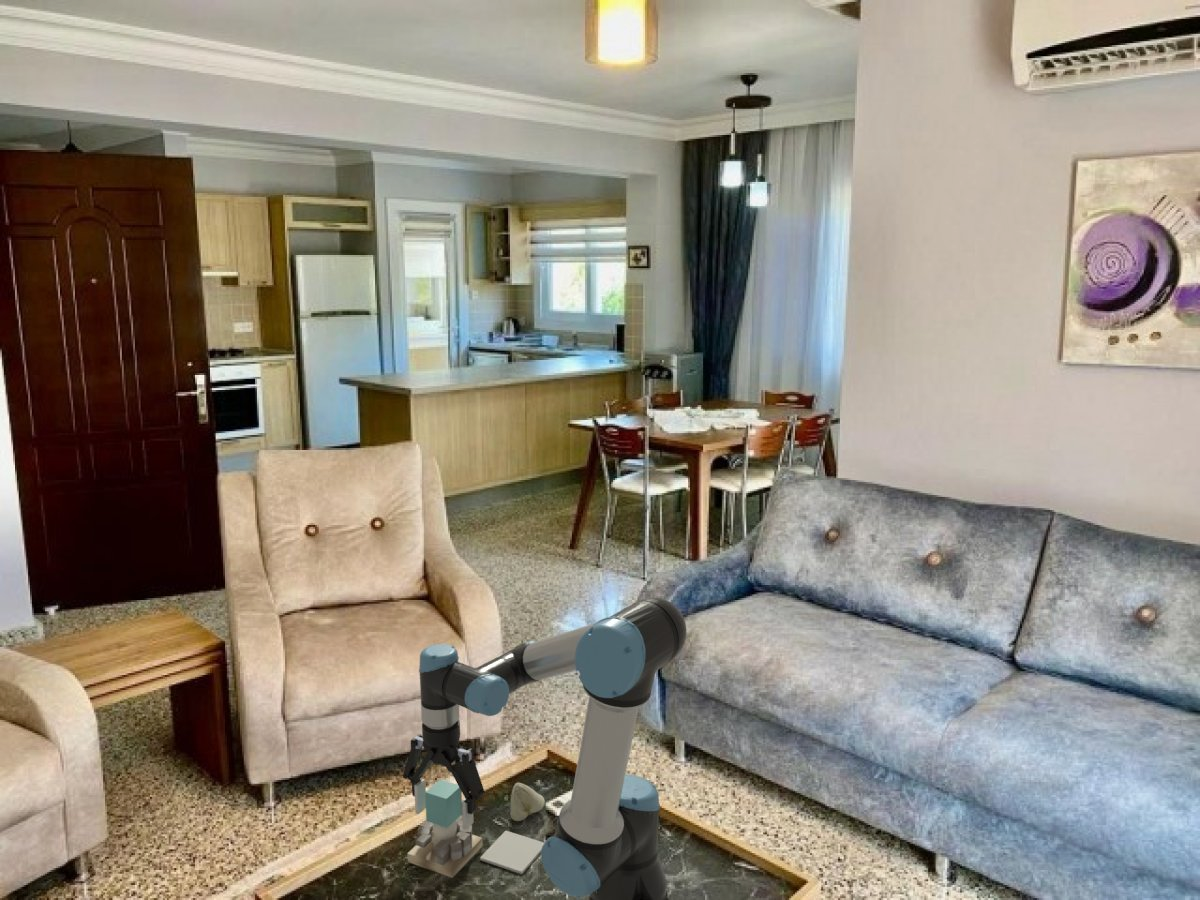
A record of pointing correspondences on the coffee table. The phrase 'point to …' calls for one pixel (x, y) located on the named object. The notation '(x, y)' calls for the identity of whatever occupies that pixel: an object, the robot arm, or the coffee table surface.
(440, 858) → the socket
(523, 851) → the mat
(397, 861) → the coffee table surface
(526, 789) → the seashell
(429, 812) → the plug
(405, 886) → the coffee table surface
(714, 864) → the coffee table surface
